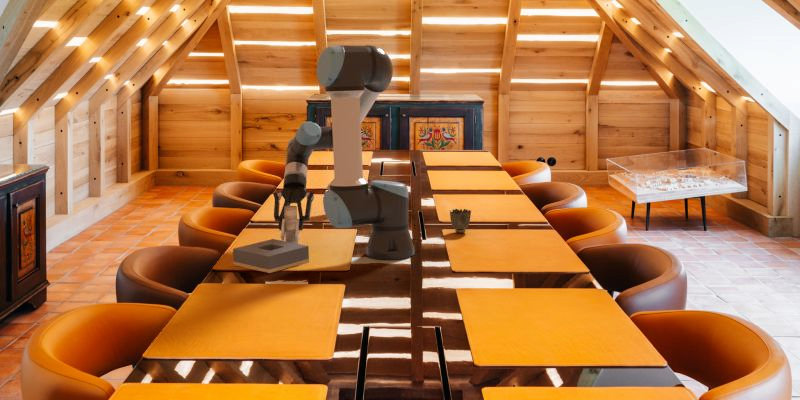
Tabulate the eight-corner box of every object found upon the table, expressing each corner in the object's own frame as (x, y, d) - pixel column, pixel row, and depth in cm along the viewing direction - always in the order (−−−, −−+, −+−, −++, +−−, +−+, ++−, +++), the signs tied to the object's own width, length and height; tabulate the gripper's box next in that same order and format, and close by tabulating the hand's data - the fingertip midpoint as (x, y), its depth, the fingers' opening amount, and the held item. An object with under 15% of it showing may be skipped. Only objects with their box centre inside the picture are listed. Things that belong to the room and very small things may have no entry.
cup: (457, 229, 293) (457, 207, 291) (475, 232, 288) (475, 209, 287) (445, 233, 287) (445, 210, 286) (462, 236, 283) (462, 213, 281)
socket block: (309, 261, 251) (308, 245, 250) (269, 273, 239) (268, 256, 238) (273, 254, 261) (272, 238, 260) (233, 264, 249) (233, 248, 248)
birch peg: (300, 249, 267) (299, 206, 265) (291, 251, 264) (290, 208, 262) (292, 247, 270) (290, 205, 267) (283, 249, 267) (281, 207, 264)
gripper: (321, 185, 279) (317, 244, 265) (271, 185, 279) (265, 244, 266) (319, 172, 273) (314, 231, 259) (268, 172, 273) (261, 232, 260)
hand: (289, 238), depth 263 cm, fingers closed on birch peg, 4 cm apart
